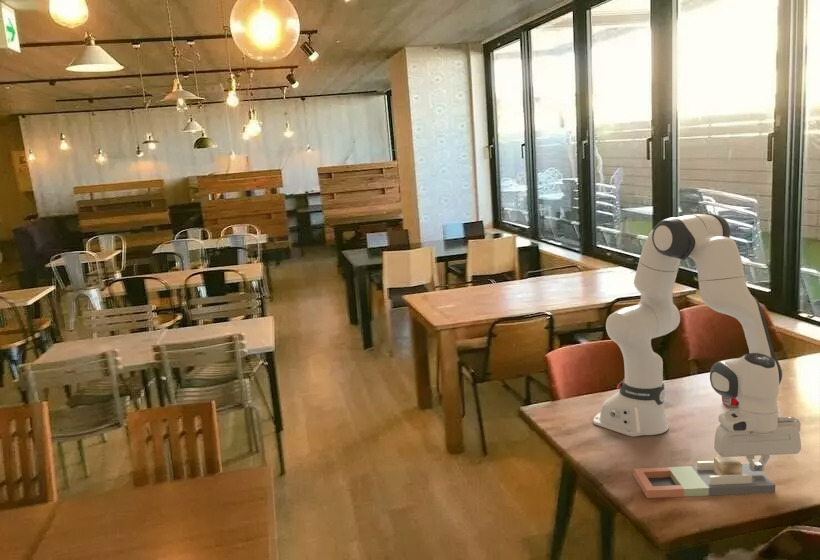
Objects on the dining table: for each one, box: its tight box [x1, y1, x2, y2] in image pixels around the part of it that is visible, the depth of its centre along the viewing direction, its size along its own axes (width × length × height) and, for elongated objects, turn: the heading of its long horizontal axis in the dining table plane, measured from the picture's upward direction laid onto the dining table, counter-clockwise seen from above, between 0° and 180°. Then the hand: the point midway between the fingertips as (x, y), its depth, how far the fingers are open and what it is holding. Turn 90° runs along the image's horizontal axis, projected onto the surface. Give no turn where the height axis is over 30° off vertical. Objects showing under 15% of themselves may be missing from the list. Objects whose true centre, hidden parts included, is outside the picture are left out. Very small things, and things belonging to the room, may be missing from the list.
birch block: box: [713, 456, 743, 475], centre depth 172 cm, size 5×5×4 cm
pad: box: [667, 465, 710, 497], centre depth 173 cm, size 6×12×2 cm, turn 178°
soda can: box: [721, 396, 739, 408], centre depth 223 cm, size 7×7×12 cm
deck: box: [632, 463, 776, 499], centre depth 173 cm, size 31×12×2 cm, turn 88°
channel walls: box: [696, 460, 752, 485], centre depth 173 cm, size 10×9×2 cm
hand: (756, 470), depth 172 cm, fingers closed
